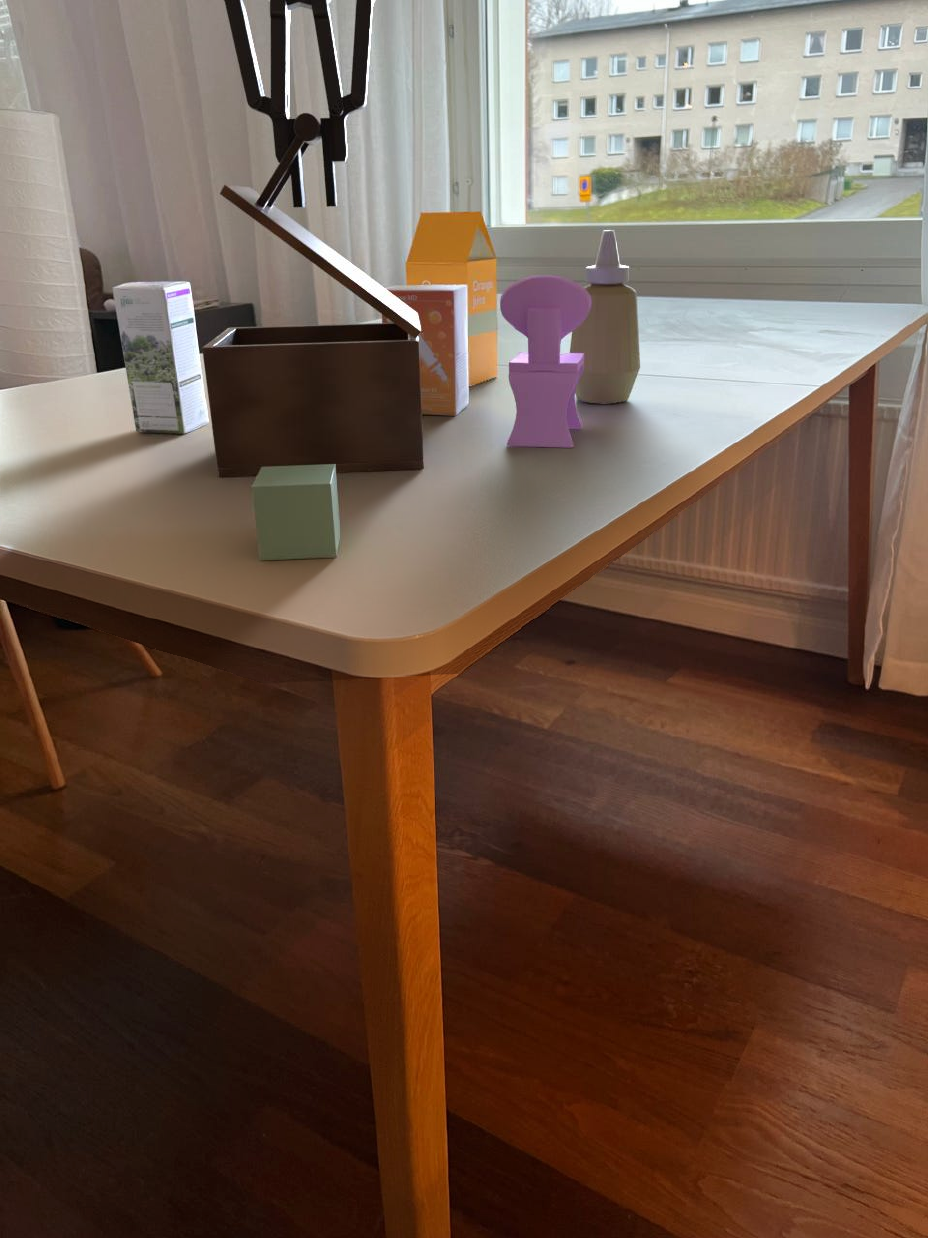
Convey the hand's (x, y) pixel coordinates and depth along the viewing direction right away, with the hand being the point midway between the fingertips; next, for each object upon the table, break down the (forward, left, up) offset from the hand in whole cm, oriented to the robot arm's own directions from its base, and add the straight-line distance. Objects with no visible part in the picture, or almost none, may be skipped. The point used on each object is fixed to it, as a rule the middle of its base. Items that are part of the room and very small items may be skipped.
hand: (315, 205), depth 80 cm
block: (-1, -26, -21) cm, 34 cm away
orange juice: (+13, +38, -21) cm, 46 cm away
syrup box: (-18, +14, -21) cm, 31 cm away
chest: (-1, 0, -21) cm, 21 cm away
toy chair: (+20, +4, -21) cm, 30 cm away
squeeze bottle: (+29, +21, -21) cm, 42 cm away
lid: (0, 0, -5) cm, 5 cm away
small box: (+9, +19, -21) cm, 30 cm away
